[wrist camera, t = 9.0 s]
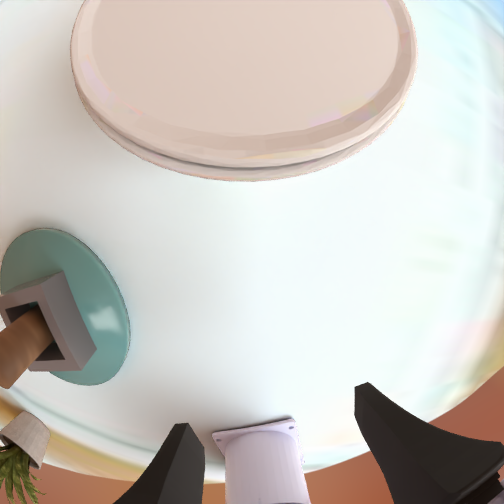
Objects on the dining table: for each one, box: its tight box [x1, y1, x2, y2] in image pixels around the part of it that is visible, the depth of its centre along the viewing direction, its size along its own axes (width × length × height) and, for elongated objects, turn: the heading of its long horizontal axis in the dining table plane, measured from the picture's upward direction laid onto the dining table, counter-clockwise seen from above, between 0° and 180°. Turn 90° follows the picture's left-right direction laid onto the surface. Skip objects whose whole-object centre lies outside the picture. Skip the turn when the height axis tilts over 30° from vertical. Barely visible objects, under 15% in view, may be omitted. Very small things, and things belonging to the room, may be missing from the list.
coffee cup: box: [70, 0, 418, 181], centre depth 10 cm, size 9×9×12 cm
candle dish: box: [0, 228, 130, 386], centre depth 16 cm, size 14×14×4 cm
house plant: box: [0, 411, 50, 504], centre depth 13 cm, size 14×14×16 cm
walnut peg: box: [0, 304, 55, 389], centre depth 13 cm, size 3×3×8 cm
